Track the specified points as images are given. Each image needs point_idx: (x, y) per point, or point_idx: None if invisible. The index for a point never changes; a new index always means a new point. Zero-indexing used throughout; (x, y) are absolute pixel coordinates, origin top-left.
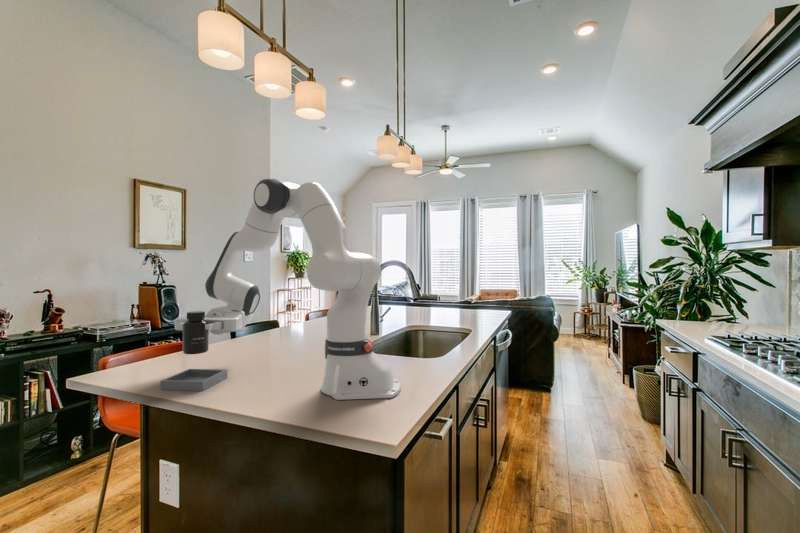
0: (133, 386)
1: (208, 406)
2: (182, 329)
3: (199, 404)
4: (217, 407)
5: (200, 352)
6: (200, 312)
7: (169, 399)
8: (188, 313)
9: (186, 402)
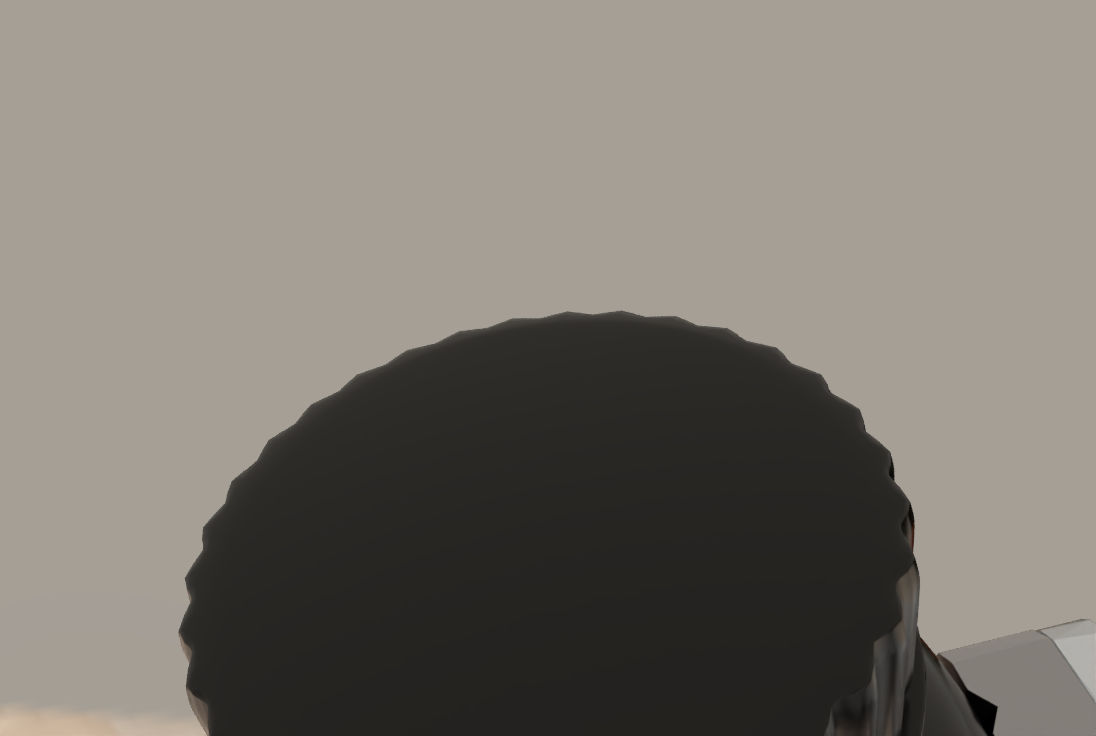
0: None
1: (107, 721)
2: None
3: (200, 728)
4: (28, 728)
5: None
6: (250, 498)
7: None
8: (605, 326)
9: None
